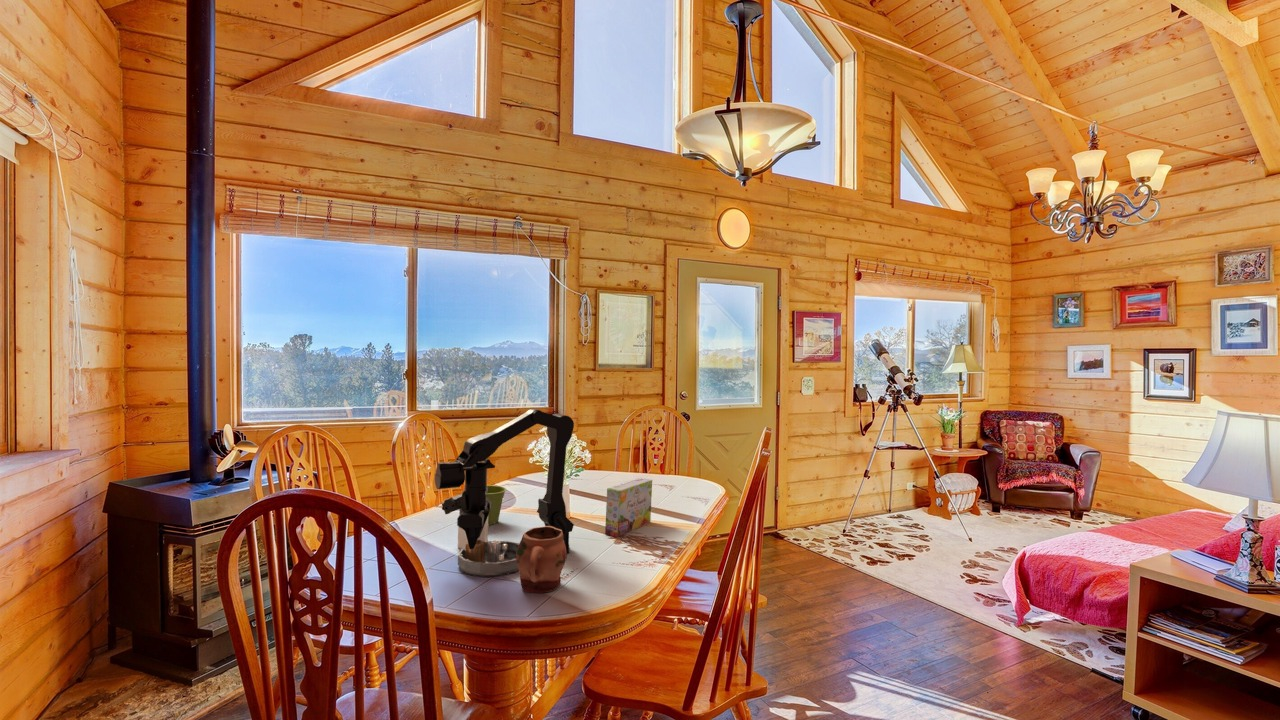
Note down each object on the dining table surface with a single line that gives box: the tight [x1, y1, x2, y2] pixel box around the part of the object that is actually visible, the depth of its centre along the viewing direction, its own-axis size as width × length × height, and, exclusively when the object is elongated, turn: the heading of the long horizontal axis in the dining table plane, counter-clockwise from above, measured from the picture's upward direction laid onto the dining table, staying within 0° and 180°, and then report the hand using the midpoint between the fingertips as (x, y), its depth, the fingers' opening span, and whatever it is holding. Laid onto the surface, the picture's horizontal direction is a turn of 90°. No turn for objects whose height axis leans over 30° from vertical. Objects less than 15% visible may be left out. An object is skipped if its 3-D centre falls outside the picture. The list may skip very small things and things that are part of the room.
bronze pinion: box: [465, 540, 485, 562], centre depth 160 cm, size 5×5×5 cm
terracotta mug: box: [516, 525, 568, 594], centre depth 145 cm, size 20×12×14 cm, turn 2°
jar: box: [457, 507, 489, 550], centre depth 175 cm, size 9×8×12 cm
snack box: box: [604, 477, 653, 538], centre depth 197 cm, size 21×6×15 cm, turn 150°
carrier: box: [457, 540, 520, 578], centre depth 160 cm, size 18×18×6 cm
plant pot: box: [487, 484, 507, 526], centre depth 199 cm, size 12×12×11 cm
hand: (474, 543), depth 160 cm, fingers open, 9 cm apart
